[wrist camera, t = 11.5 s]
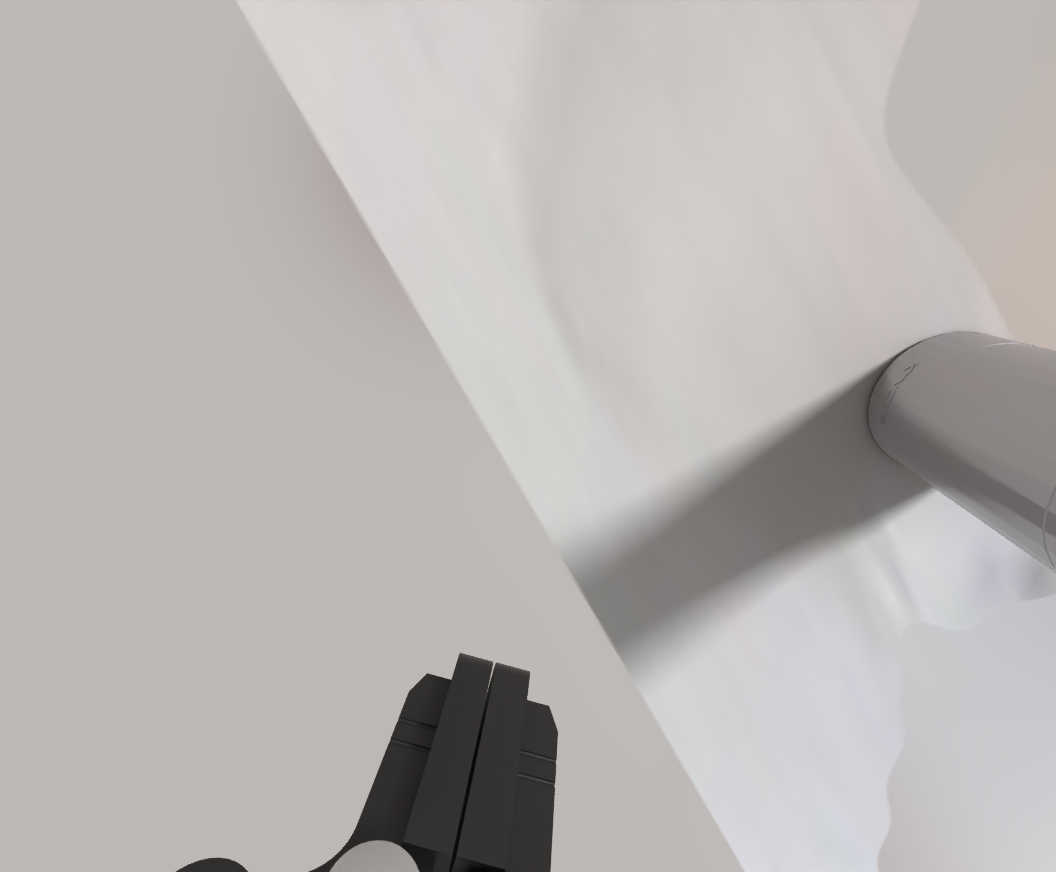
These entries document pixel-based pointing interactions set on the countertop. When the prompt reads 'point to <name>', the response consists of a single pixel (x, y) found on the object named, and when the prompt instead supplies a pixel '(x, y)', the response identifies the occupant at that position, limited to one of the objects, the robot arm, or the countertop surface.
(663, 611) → the countertop surface
